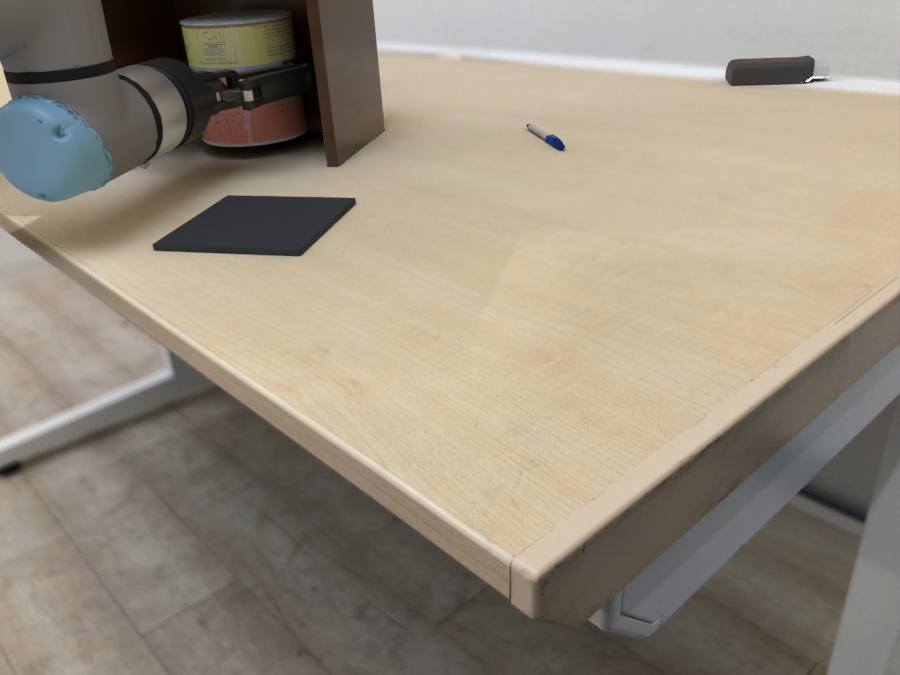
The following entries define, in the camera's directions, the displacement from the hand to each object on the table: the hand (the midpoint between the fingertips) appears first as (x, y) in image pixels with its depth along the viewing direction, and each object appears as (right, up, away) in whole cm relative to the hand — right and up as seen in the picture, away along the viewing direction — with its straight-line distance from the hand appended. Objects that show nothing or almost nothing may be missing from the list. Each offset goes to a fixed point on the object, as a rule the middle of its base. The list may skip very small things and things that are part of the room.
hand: (261, 65), depth 88 cm
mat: (+5, -21, -23) cm, 32 cm away
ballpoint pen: (+30, -9, -4) cm, 32 cm away
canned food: (-1, -8, 0) cm, 8 cm away
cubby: (-1, -9, 0) cm, 9 cm away
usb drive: (+63, +3, +16) cm, 65 cm away
